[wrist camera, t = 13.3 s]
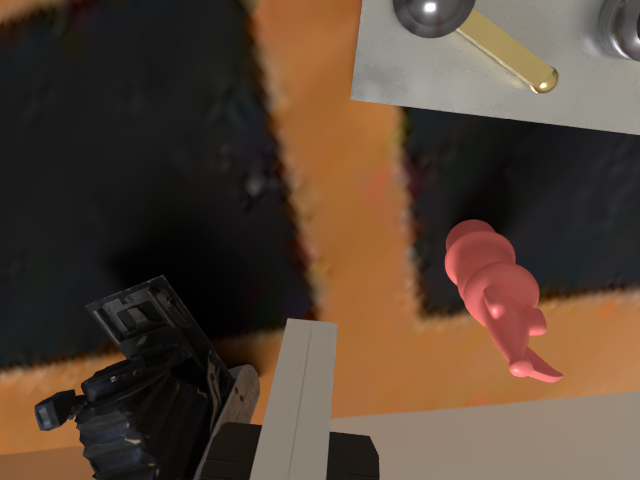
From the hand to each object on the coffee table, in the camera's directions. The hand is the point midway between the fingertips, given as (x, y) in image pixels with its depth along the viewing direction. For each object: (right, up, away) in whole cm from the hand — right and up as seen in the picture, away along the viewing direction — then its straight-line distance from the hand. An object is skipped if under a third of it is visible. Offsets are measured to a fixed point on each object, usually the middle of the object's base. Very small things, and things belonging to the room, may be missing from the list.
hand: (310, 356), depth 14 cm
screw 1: (+10, +16, +14) cm, 23 cm away
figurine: (+12, +4, +22) cm, 26 cm away
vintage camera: (-13, -6, +30) cm, 33 cm away
